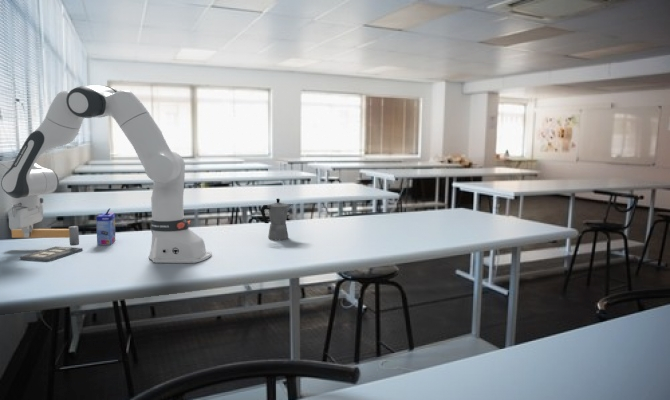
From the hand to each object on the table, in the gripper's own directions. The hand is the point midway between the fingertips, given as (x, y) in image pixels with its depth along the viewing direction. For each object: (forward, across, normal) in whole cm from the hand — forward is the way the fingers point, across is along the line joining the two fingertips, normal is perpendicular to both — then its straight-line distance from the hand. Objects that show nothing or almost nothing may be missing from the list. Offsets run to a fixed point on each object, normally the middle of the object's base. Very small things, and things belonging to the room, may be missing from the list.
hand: (28, 236), depth 172 cm
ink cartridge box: (+5, +8, -26) cm, 28 cm away
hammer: (+4, +2, -6) cm, 7 cm away
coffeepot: (+5, +6, -96) cm, 97 cm away
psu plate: (+5, -10, -12) cm, 16 cm away
